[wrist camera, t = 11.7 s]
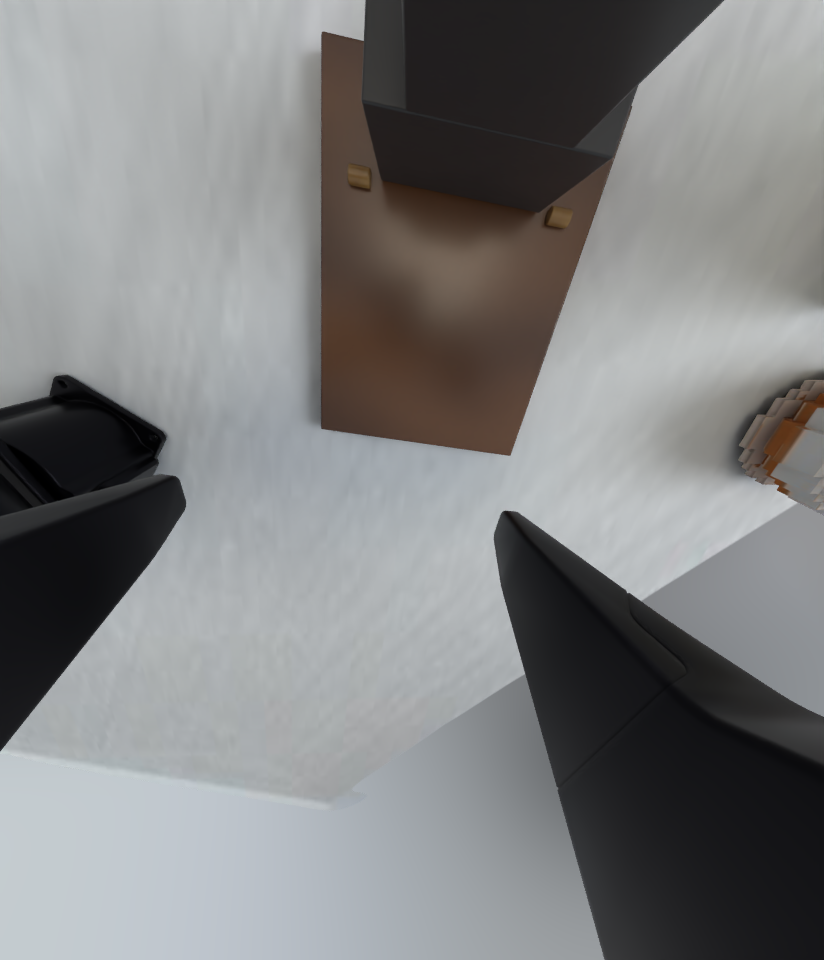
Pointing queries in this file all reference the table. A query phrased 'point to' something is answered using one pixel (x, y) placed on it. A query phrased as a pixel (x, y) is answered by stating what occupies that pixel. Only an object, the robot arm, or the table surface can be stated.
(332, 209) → the stand
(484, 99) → the penguin
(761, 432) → the decorative ornament
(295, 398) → the table surface
